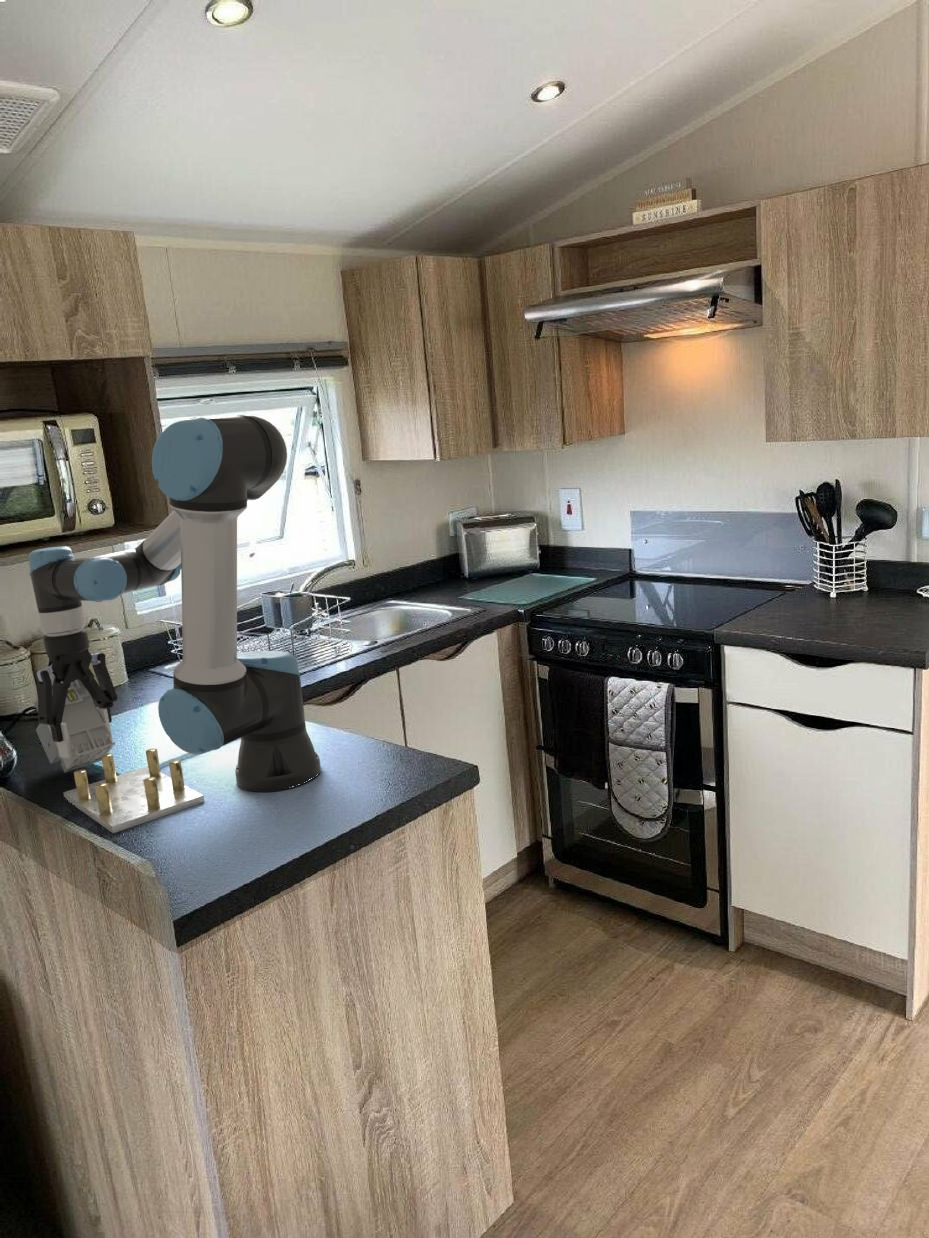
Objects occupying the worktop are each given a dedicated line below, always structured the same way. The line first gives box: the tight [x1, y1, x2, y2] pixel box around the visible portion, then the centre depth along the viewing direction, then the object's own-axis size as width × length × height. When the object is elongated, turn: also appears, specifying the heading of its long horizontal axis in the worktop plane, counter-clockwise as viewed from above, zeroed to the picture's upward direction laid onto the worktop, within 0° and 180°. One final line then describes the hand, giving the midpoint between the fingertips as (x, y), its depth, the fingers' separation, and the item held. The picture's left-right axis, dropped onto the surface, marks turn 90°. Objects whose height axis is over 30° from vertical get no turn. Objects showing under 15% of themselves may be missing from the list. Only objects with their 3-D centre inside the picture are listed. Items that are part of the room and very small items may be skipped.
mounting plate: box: [62, 748, 205, 834], centre depth 169 cm, size 23×16×6 cm
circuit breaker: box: [34, 679, 116, 773], centre depth 185 cm, size 8×14×15 cm
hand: (86, 748), depth 182 cm, fingers closed on circuit breaker, 8 cm apart
